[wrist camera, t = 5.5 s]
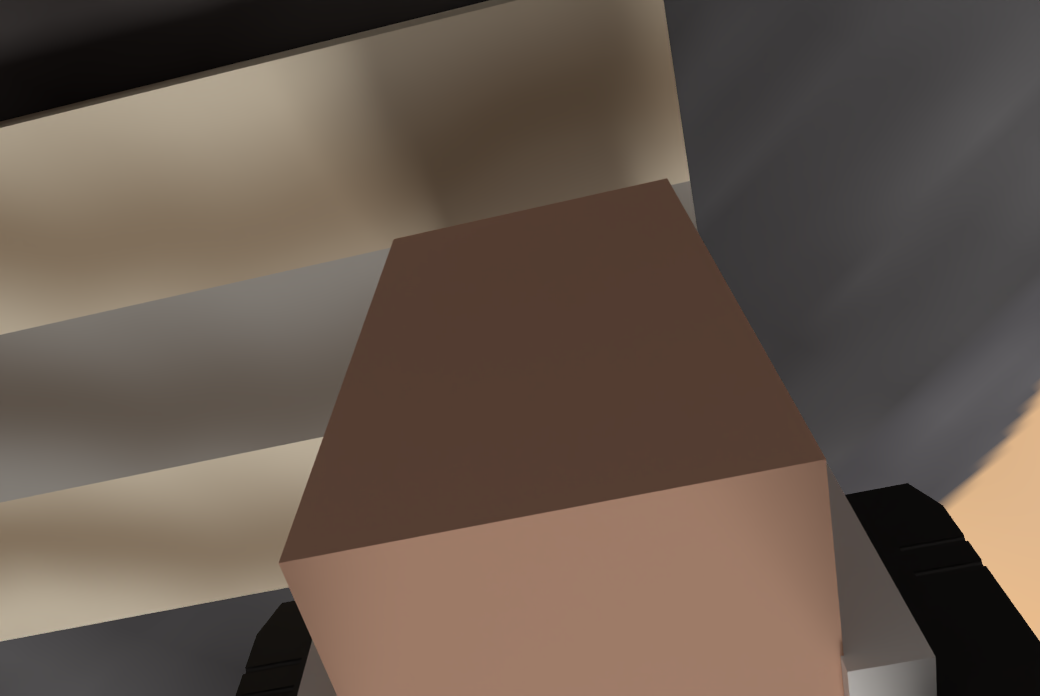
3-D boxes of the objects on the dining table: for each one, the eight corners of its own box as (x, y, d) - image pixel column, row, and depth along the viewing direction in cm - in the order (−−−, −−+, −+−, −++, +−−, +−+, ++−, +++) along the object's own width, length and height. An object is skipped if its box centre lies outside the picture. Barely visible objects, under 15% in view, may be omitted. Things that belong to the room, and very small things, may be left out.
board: (-378, 215, 19) (-432, 234, 18) (649, -40, 17) (658, -35, 16) (-82, 628, 24) (-109, 661, 23) (726, 473, 22) (737, 502, 21)
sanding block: (393, 239, 15) (278, 563, 7) (667, 177, 14) (826, 459, 7) (495, 567, 18) (482, 1023, 10) (722, 525, 17) (872, 970, 10)
